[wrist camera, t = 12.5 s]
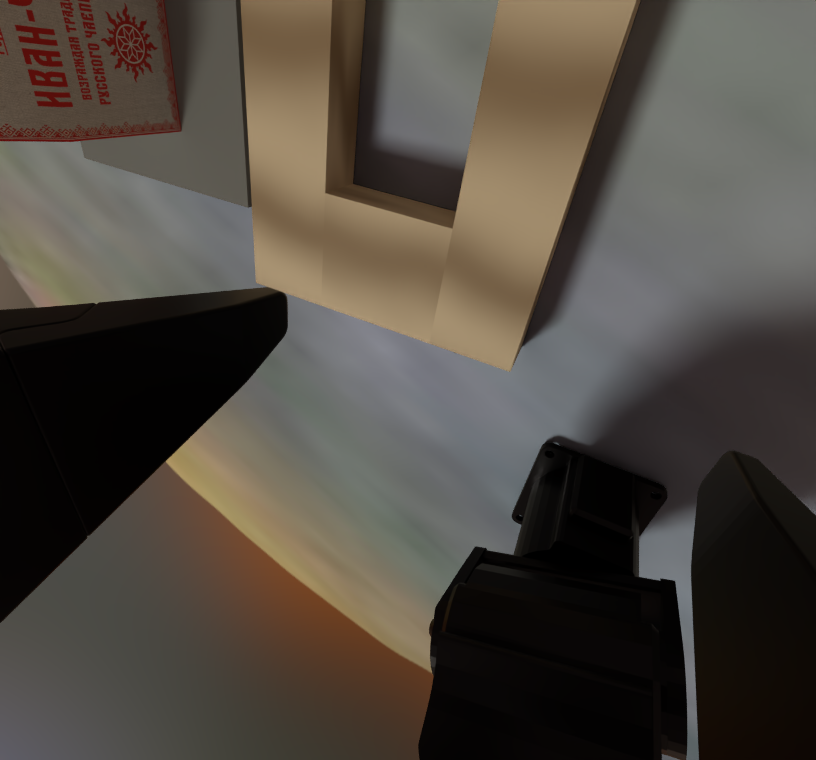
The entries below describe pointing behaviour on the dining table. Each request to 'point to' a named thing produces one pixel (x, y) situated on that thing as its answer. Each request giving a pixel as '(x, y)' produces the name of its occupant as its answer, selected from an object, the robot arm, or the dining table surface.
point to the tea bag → (85, 70)
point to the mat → (196, 108)
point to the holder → (411, 220)
